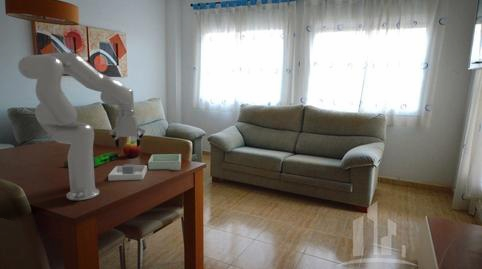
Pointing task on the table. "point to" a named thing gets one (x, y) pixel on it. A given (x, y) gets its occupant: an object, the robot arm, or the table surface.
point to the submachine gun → (101, 159)
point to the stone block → (128, 169)
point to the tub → (118, 174)
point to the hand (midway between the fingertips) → (128, 147)
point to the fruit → (131, 149)
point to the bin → (165, 161)
